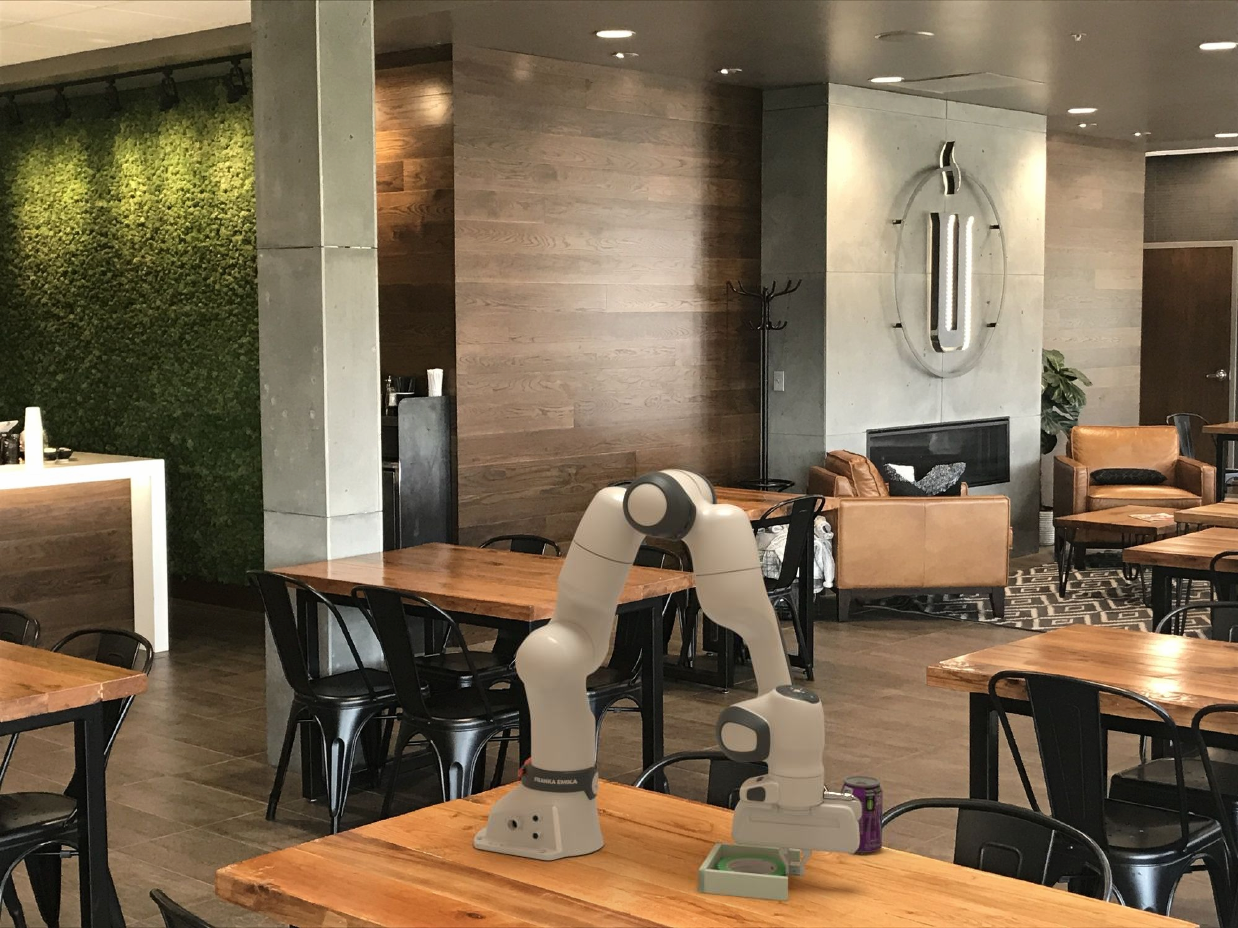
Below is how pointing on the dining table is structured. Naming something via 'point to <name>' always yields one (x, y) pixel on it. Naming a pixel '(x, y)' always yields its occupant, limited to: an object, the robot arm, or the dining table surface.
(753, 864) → the tape roll
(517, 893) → the dining table surface
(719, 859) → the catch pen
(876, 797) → the beverage can
